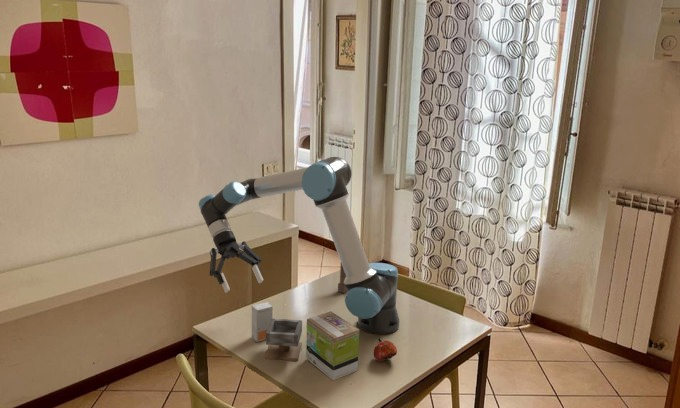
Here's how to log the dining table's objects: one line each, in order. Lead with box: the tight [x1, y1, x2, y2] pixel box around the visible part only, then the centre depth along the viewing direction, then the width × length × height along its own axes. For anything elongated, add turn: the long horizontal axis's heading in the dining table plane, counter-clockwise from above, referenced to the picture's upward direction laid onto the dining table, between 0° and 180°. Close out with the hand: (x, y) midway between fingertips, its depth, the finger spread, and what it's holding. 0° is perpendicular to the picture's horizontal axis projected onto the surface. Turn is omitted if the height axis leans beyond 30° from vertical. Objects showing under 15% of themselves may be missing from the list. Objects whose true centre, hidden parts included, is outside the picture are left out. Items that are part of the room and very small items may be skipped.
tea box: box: [305, 310, 360, 381], centre depth 172 cm, size 15×10×15 cm
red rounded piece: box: [373, 337, 398, 368], centre depth 177 cm, size 7×7×10 cm
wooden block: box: [337, 262, 347, 294], centre depth 229 cm, size 4×11×18 cm, turn 135°
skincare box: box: [251, 301, 274, 343], centre depth 188 cm, size 6×4×12 cm
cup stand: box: [265, 318, 303, 362], centre depth 180 cm, size 10×10×9 cm
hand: (244, 286), depth 193 cm, fingers open, 13 cm apart
